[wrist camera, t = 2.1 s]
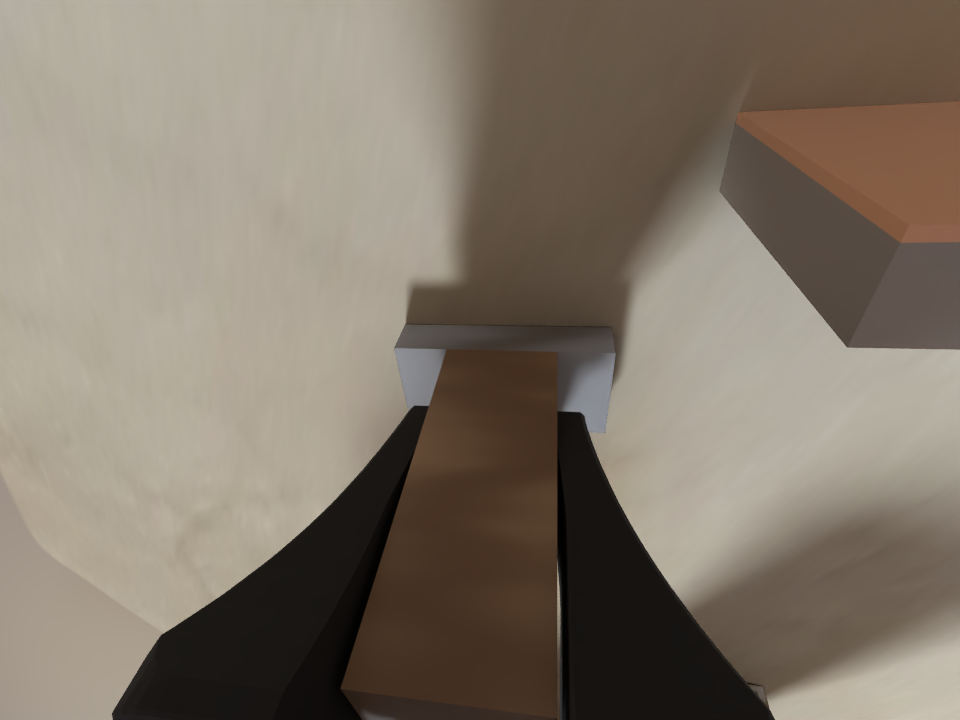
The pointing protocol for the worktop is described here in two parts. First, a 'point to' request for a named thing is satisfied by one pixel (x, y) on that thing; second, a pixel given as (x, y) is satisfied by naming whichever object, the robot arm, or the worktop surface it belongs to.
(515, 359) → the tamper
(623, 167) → the worktop surface
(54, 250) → the worktop surface
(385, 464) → the robot arm
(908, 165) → the tile
